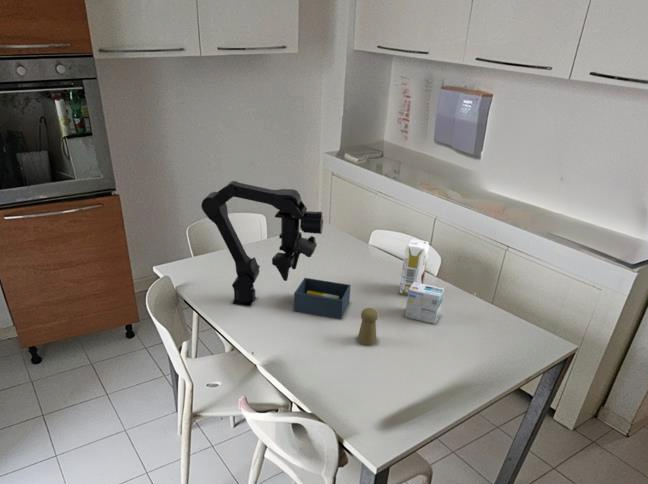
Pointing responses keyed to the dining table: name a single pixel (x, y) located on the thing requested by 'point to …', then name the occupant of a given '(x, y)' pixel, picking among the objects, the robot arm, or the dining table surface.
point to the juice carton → (413, 264)
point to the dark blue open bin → (322, 298)
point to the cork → (368, 327)
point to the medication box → (323, 295)
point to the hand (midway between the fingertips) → (289, 274)
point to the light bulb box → (424, 302)
